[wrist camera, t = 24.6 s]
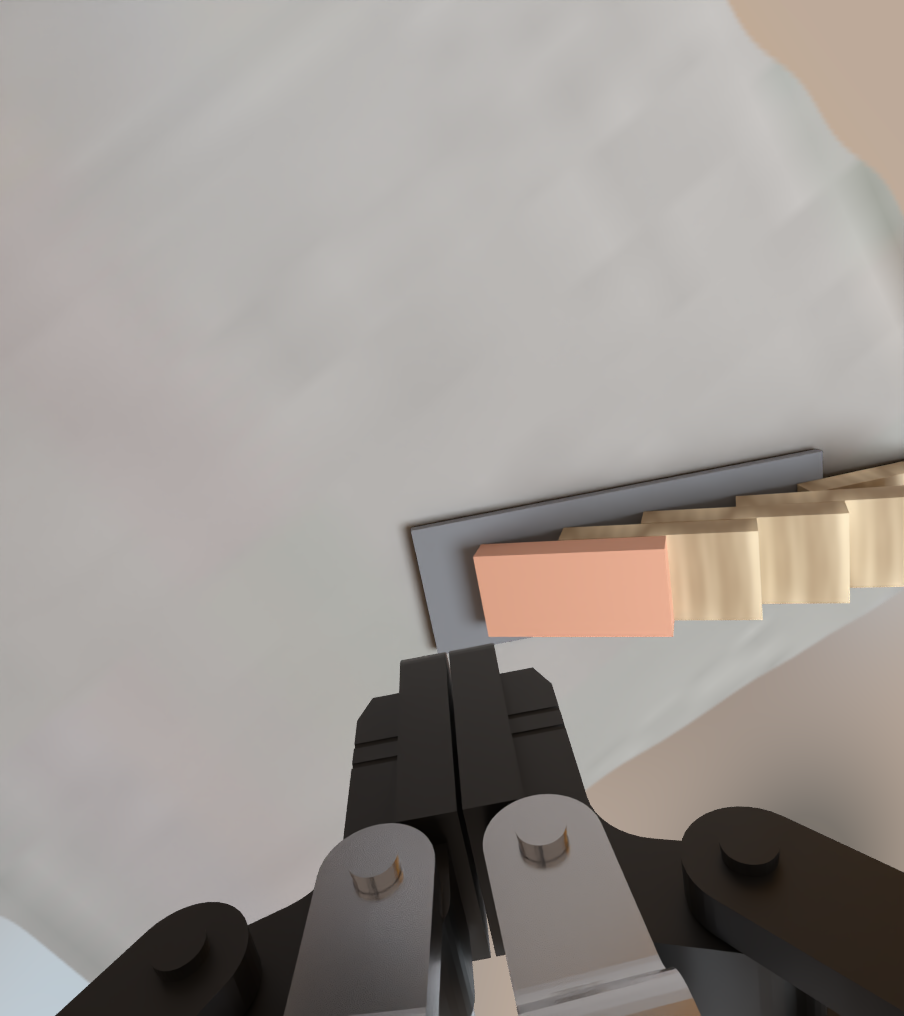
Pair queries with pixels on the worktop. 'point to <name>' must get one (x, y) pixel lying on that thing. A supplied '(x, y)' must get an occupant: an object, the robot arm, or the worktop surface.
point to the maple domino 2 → (790, 547)
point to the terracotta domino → (576, 588)
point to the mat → (456, 541)
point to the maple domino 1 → (701, 564)
